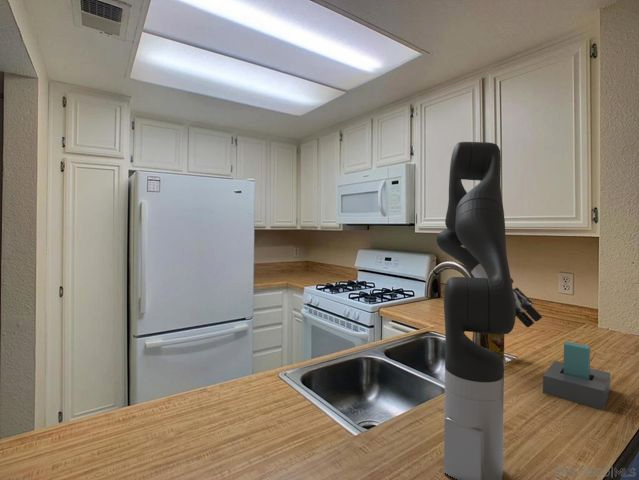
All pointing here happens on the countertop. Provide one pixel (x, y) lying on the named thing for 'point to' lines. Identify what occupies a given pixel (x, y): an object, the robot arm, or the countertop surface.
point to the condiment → (497, 345)
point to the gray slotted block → (577, 386)
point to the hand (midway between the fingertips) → (535, 322)
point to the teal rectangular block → (577, 360)
